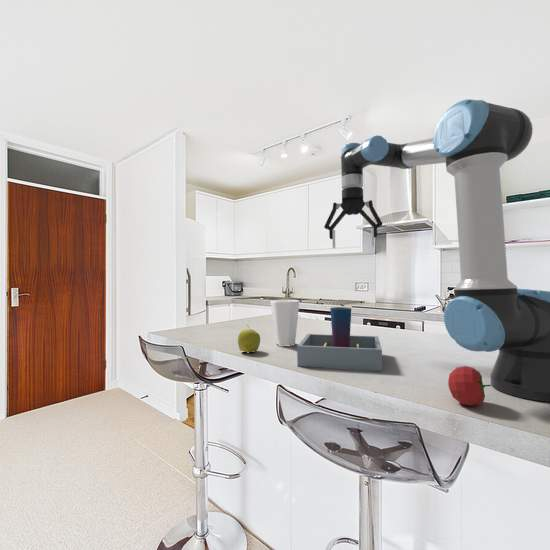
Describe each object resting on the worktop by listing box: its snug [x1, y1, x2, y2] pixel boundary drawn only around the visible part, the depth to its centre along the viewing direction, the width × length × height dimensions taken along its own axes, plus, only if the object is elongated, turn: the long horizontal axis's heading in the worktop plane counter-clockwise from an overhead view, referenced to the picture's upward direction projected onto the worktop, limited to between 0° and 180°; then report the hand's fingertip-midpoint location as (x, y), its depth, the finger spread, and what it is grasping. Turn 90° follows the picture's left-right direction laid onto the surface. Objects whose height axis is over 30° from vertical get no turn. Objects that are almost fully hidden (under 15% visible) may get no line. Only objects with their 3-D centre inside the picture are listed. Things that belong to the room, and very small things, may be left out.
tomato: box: [447, 365, 492, 407], centre depth 68 cm, size 8×8×8 cm
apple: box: [237, 324, 261, 352], centre depth 116 cm, size 8×8×10 cm
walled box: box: [296, 333, 383, 372], centre depth 104 cm, size 20×24×6 cm
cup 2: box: [329, 306, 352, 347], centre depth 108 cm, size 7×7×15 cm
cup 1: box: [270, 299, 300, 346], centre depth 127 cm, size 11×10×17 cm
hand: (353, 247), depth 119 cm, fingers open, 13 cm apart
